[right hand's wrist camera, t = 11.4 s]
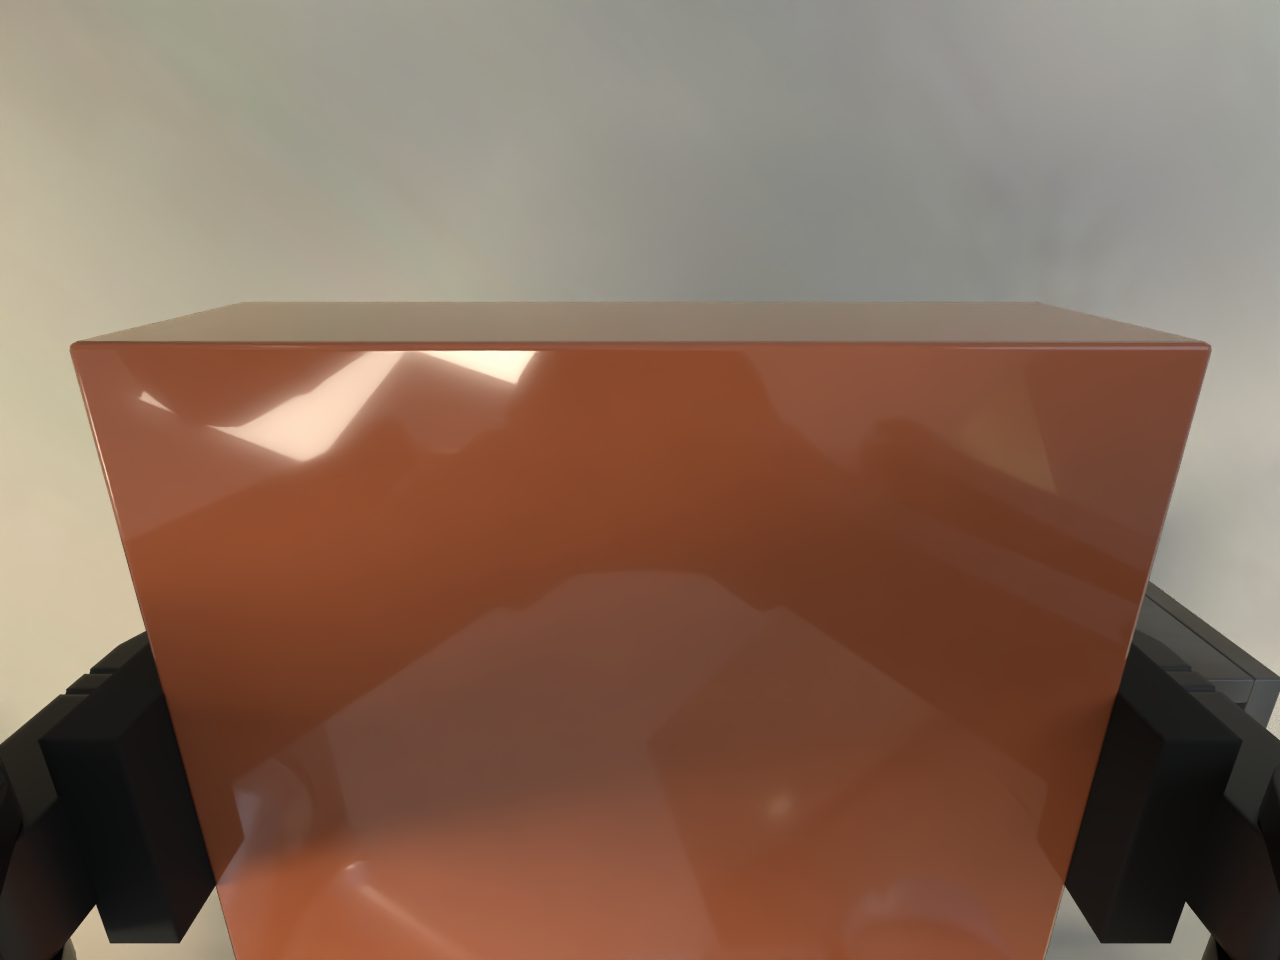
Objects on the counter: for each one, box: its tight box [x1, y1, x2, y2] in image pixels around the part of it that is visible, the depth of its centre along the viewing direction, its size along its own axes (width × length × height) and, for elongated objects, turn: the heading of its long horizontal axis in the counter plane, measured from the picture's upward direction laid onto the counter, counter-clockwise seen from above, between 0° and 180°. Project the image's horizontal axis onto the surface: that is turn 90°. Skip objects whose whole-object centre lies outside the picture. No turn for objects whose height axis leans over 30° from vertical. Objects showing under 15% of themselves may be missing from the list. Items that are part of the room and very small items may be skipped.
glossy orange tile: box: [70, 302, 1211, 960], centre depth 10 cm, size 10×10×4 cm
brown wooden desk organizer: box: [1135, 581, 1280, 728], centre depth 29 cm, size 8×26×12 cm, turn 0°
